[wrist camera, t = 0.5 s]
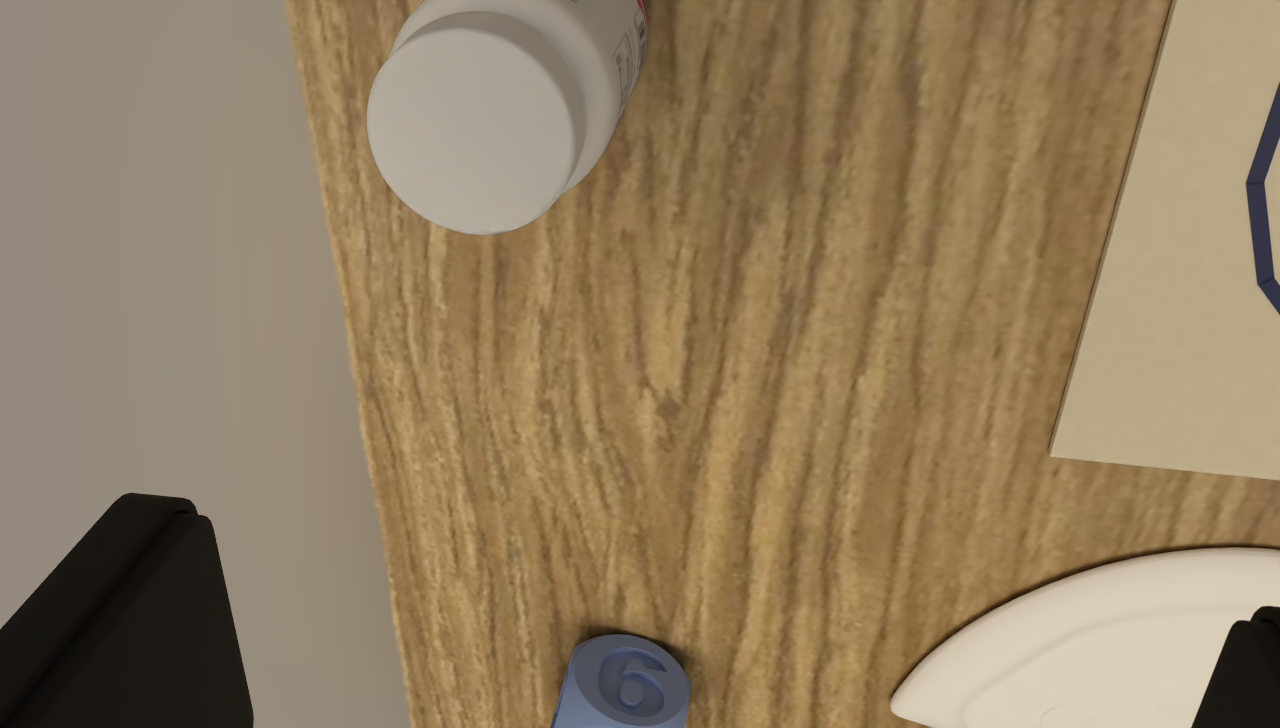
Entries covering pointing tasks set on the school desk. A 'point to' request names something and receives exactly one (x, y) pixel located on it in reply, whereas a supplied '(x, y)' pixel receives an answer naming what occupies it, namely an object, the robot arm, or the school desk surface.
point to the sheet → (1191, 263)
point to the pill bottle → (501, 104)
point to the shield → (1096, 646)
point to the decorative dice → (622, 686)
